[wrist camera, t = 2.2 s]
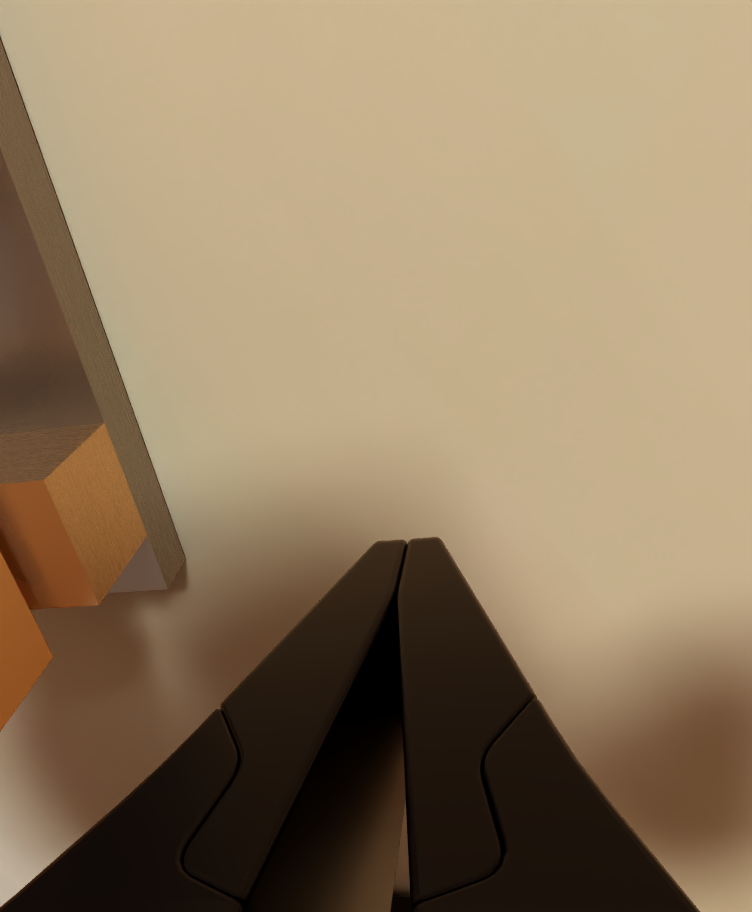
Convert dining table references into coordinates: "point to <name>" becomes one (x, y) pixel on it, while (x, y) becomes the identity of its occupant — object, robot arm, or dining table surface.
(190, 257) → the dining table surface
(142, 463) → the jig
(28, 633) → the orange block with bar
